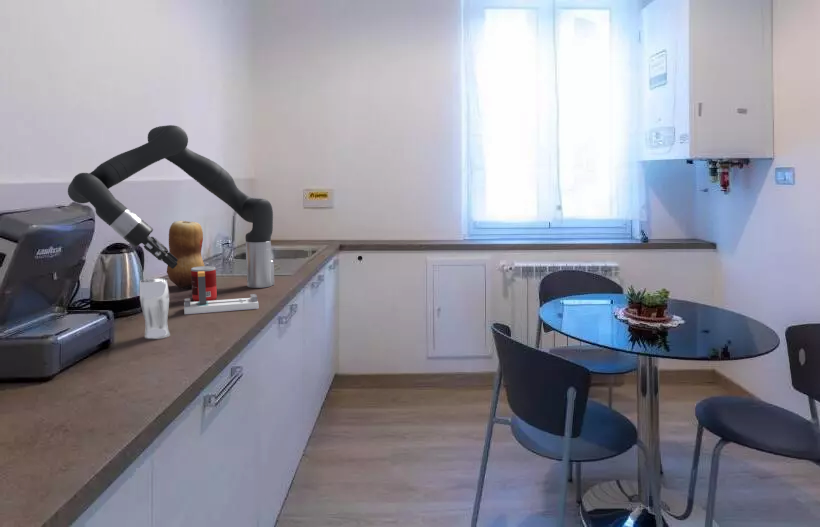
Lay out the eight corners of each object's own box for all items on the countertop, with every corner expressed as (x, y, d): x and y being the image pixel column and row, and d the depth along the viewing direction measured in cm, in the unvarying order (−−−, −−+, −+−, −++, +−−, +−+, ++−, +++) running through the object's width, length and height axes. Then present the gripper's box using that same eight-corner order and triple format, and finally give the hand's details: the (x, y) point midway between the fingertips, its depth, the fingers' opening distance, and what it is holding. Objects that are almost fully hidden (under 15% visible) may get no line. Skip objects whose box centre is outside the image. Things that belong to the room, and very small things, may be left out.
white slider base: (184, 314, 175) (183, 303, 175) (184, 308, 183) (183, 297, 182) (258, 308, 183) (258, 297, 183) (255, 303, 191) (255, 293, 190)
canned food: (221, 298, 198) (220, 266, 197) (206, 303, 191) (204, 270, 189) (203, 296, 201) (201, 265, 199) (187, 301, 193) (185, 269, 192)
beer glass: (161, 331, 156) (158, 276, 154) (177, 335, 152) (173, 279, 150) (137, 337, 150) (133, 280, 148) (152, 341, 147) (148, 283, 144)
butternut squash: (205, 289, 213) (202, 222, 209) (166, 291, 209) (162, 222, 205) (206, 283, 226) (203, 219, 222) (169, 284, 222) (165, 220, 218)
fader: (199, 304, 178) (197, 273, 177) (199, 301, 182) (197, 271, 181) (206, 303, 179) (204, 273, 178) (205, 301, 183) (204, 271, 181)
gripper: (139, 220, 164) (184, 258, 170) (142, 217, 177) (184, 252, 183) (119, 239, 163) (166, 277, 169) (124, 234, 176) (167, 270, 182)
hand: (175, 264), depth 176 cm, fingers open, 8 cm apart
